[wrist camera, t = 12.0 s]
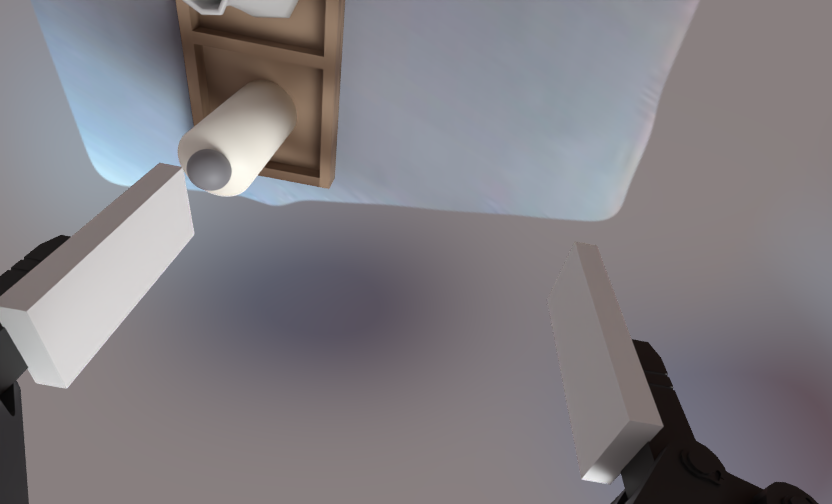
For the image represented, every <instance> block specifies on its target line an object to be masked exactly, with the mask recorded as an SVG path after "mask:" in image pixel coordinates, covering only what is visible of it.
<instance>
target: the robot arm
mask: <svg viewBox="0 0 832 504" xmlns="http://www.w3.org/2000/svg"><path fill="white" fill-rule="evenodd" d="M193 236H194V229H193V223H192V218H191V212H190V206H189V200H188V195H187V188H186V183H185V177H184V171H183V167H179V166H174V165H169V164H163V163H159V164H157V165H156V166H155V167H154V168H153V169H151V170H150V171H149V172H148V173H147V174H145V175H144V176H143V177H142V178H141V179H140V180H138V181H137V182H136V183H135V184H134V185H132V186H131V187H130V188H129V189H128V190H126V191H125V192H124V193H123V194H122V195H120V196H119V197H118V198H117V199H116V200H115V201H113V202H112V203H111V204H110V205H109V206H107V207H106V208H105V209H104V210H103V211H102V212H100V213H99V214H98V215H97V216H95V217H94V218H93V219H92V220H91V221H90V222H88V223H87V224H86V225H85V226H84V227H82V228H81V229H80V230H79V231H78V232H76V233H75V234H74V235H73V236H72V237H70V236H64V235H60V236H58V237H55V238H53V239H51V240H49V241H47V242H45V243H42V244H40V245H39V246H38V247H36V248H35V249H34V250H32V251H31V252H30V253H29V254H27V255H26V256H25V257H24V260H20V261H19V262H18V263H16V264H15V265H14V266H13V267H11V270H7V271H6V272H5V273H4V274H2V275H1V276H0V504H29V502H28V486H27V473H26V459H25V445H24V431H23V417H22V404H21V390H20V387H19V385H18V382H17V381H16V380H17V379H18V378H19V377H20V376H21V374H23V372H24V371H25V370H26V369H28V370H29V372H30V374H31V375H32V377H33V379H34V381H35V382H36V383H38V384H44V385H50V386H55V387H61V388H68V387H69V385H70V384H71V383H72V382H73V380H74V379H75V378H76V377H77V376H78V375H79V373H80V372H81V371H82V370H83V368H84V367H85V366H86V365H87V363H88V362H89V361H90V360H91V359H92V358H93V356H94V355H95V354H96V353H97V352H98V350H99V349H100V348H101V347H102V346H103V344H104V343H105V342H106V340H107V339H108V338H109V337H110V336H111V335H112V333H113V332H114V331H115V330H116V328H117V327H118V326H119V325H120V324H121V323H122V321H123V320H124V319H125V318H126V317H127V315H128V314H129V313H130V312H131V310H132V309H133V308H134V307H135V306H136V304H137V303H138V302H139V301H140V300H141V298H142V297H143V296H144V295H145V294H146V292H147V291H148V290H149V289H150V288H151V286H152V285H153V284H154V283H155V282H156V280H157V279H158V278H159V277H160V276H161V274H162V273H163V272H164V271H165V269H166V268H167V267H168V266H169V265H170V263H171V262H172V261H173V260H174V259H175V257H176V256H177V255H178V254H179V253H180V251H181V250H182V249H183V248H184V246H185V245H186V244H187V243H188V242H189V240H190V239H191V238H192V237H193ZM547 304H548V309H549V314H550V319H551V324H552V329H553V334H554V340H555V345H556V350H557V355H558V361H559V365H560V371H561V376H562V381H563V386H564V392H565V397H566V402H567V407H568V413H569V418H570V423H571V428H572V433H573V438H574V444H575V449H576V454H577V459H578V464H579V470H580V475H581V479H583V480H589V481H594V482H600V483H606V484H611V483H612V482H613V481H614V480H615V479H616V478H617V477H618V476H619V475H620V474H621V475H622V479H623V483H624V487H625V489H624V491H622V493H621V494H620V495H619V496H618V497H617V498H616V499H615V500H614V501H613V502H612V503H611V504H818V503H817V502H816V501H815V500H814V499H813V498H812V497H811V496H809V495H808V494H807V493H805V492H804V491H802V490H801V489H799V488H798V487H796V486H793V485H791V484H788V483H785V482H774V483H773V484H771V485H769V486H768V487H767V488H765V489H761V488H759V487H757V486H755V485H753V484H751V483H749V482H747V481H744V480H742V479H740V478H738V477H736V476H734V475H732V474H730V473H728V472H727V471H726V470H725V467H724V466H723V464H722V463H721V462H720V460H719V459H718V457H717V456H716V455H715V454H714V453H713V452H712V451H710V450H709V449H708V448H707V447H706V446H704V445H702V444H701V443H699V442H697V441H696V440H695V438H694V435H693V433H692V430H691V428H690V426H689V423H688V421H687V419H686V416H685V414H684V411H683V409H682V407H681V405H680V402H679V400H678V397H677V395H676V392H675V391H674V390H673V385H672V383H671V380H670V378H669V377H667V375H668V373H667V371H666V368H665V366H664V364H663V361H662V359H661V357H660V356H659V355H658V354H657V352H656V351H655V350H654V349H653V348H652V346H651V345H650V344H649V343H648V342H644V341H638V340H633V339H631V337H630V334H629V331H628V328H627V326H626V323H625V320H624V318H623V315H622V312H621V310H620V307H619V304H618V301H617V299H616V296H615V293H614V291H613V288H612V285H611V282H610V280H609V277H608V274H607V271H606V269H605V266H604V263H603V261H602V258H601V255H600V253H599V250H598V247H597V246H596V245H590V244H585V243H580V242H574V244H573V246H572V248H571V250H570V253H569V254H568V257H567V259H566V261H565V263H564V265H563V267H562V269H561V271H560V274H559V276H558V278H557V280H556V282H555V284H554V286H553V288H552V290H551V293H550V295H549V297H548V299H547Z"/></svg>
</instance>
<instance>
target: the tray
mask: <svg viewBox="0 0 832 504" xmlns="http://www.w3.org/2000/svg"><path fill="white" fill-rule="evenodd" d="M176 7H177V13H178V20H179V27H180V34H181V41H182V47H183V54H184V61H185V68H186V75H187V82H188V88H189V95H190V102H191V109H192V116H193V123H194V126H196V125H197V124H198V123H199V122H200V121H202V120H203V119H204V118H205V117H207V116H208V115H209V114H210V113H211V112H213V111H214V110H215V109H216V108H218V107H219V106H220V105H221V104H223V103H224V102H225V101H226V100H227V99H229V98H230V97H231V96H232V95H234V94H235V93H236V92H237V91H239V90H240V89H241V88H242V87H243V86H245V85H246V84H247V83H249V82H251V81H254V80H267V81H271V82H273V83H275V84H277V85H279V86H280V87H282V88H283V89H284V90H285V91H286V92H287V93H288V94H289V95H290V97H291V98H292V100H293V102H294V104H295V107H296V111H297V121H296V125H295V127H294V129H293V130H292V132H291V133H290V134H289V135H288V137H287V138H286V139H285V141H284V142H283V143H282V144H281V146H280V147H279V148H278V150H277V151H276V152H275V153H274V155H273V156H272V157H271V159H270V160H269V161H268V162H267V164H266V165H265V166H264V168H263V169H262V170H261V171H260V173H259V174H258V175H259V176H265V177H270V178H275V179H280V180H286V181H291V182H296V183H301V184H307V185H312V186H317V187H322V188H328V189H329V188H330V186H331V184H332V182H333V180H334V178H335V163H336V146H337V129H338V112H339V95H340V78H341V61H342V44H343V27H344V10H345V0H298V2H297V4H296V6H295V8H294V10H293V12H292V14H291V16H290V18H263V17H253V16H251V15H249V14H247V13H246V12H244V11H242V10H240V9H237V8H235V7H232V6H230V5H229V6H226V9H225V11H224V13H223V15H201V14H200V13H199V12H197V11H196V10H195V9H193V8H192V7H190V6H189V5H188V4H186V3H185V2H184V1H182V0H176Z"/></svg>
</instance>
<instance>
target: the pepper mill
mask: <svg viewBox="0 0 832 504" xmlns="http://www.w3.org/2000/svg"><path fill="white" fill-rule="evenodd" d="M296 121H297V111H296V107H295V104H294V102H293V100H292V98H291V97H290V95H289V94H288V93H287V92H286V91H285V90H284V89H283V88H282V87H280V86H279V85H277V84H275V83H273V82H271V81H267V80H254V81H251V82H249V83H247V84H246V85H245V86H243V87H242V88H241V89H240V90H239V91H237V92H236V93H235V94H234V95H232V96H231V97H230V98H229V99H227V100H226V101H225V102H224V103H223V104H221V105H220V106H219V107H218V108H216V109H215V110H214V111H213V112H211V113H210V114H209V115H208V116H207V117H205V118H204V119H203V120H202V121H200V122H199V123H198V124H197V125H196V126H194V127H193V128H192V129H191V130H189V131H188V132H187V133H186V134H185V135H184V136H183V137H182V138H181V140H180V142H179V145H178V158H179V162H180V164H181V167H183V170H184V172H185V173H186V175H187V176H188V177H189V179H190V180H191V182H192V183H193V184H194V185H195V186H197V187H198V188H200V189H203V190H205V191H207V192H209V193H212V194H215V195H219V196H235V195H238V194H241V193H242V192H244V191H245V190H246V189H247V188H248V187H249V186H250V184H251V183H252V182H253V180H254V179H255V178H256V177H257V175H258V174H259V173H260V171H261V170H262V169H263V168H264V166H265V165H266V164H267V162H268V161H269V160H270V159H271V157H272V156H273V155H274V153H275V152H276V151H277V150H278V148H279V147H280V146H281V144H282V143H283V142H284V141H285V139H286V138H287V137H288V135H289V134H290V133H291V132H292V130H293V129H294V127H295V125H296Z"/></svg>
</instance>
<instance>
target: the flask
mask: <svg viewBox="0 0 832 504" xmlns="http://www.w3.org/2000/svg"><path fill="white" fill-rule="evenodd" d="M182 1H184V2H185V3H186V4H188V5H189V6H190V7H192V8H193V9H195V10H196V11H197V12H199V13H200V14H201V15H223V13H224V11H225V9H226V6H229V5H230V6H232V7H235V8H237V9H240V10H242V11H244V12H246V13H247V14H249V15H251V16H253V17H263V18H290V16H291V14H292V12H293V10H294V8H295V6H296V4H297V2H298V0H182Z"/></svg>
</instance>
